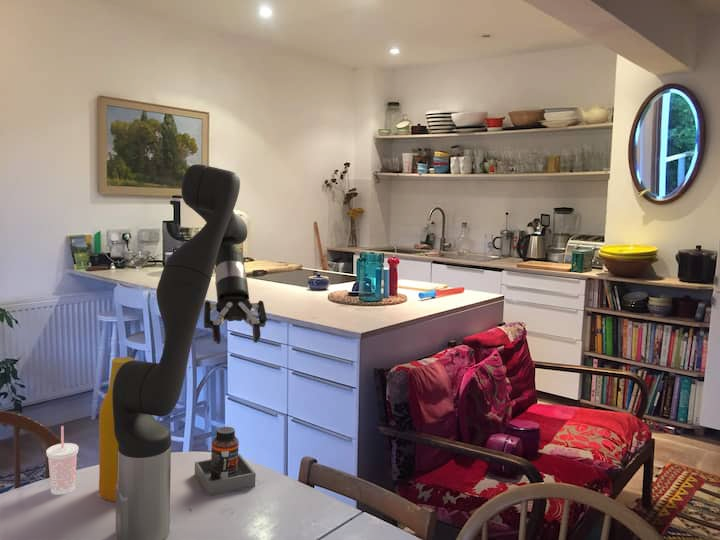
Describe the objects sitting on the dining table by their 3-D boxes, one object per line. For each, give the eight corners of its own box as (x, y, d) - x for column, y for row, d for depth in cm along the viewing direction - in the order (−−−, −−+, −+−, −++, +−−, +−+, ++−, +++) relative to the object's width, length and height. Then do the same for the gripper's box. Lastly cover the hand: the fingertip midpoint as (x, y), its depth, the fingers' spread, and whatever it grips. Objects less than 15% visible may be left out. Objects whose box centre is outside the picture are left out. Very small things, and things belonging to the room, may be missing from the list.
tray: (208, 496, 127) (208, 482, 127) (194, 474, 136) (194, 462, 136) (255, 486, 133) (255, 473, 132) (239, 465, 142) (239, 453, 141)
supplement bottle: (230, 485, 131) (232, 436, 130) (205, 481, 132) (207, 433, 131) (241, 473, 137) (243, 426, 136) (217, 469, 138) (219, 423, 137)
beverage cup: (40, 491, 126) (39, 427, 124) (66, 479, 131) (65, 418, 129) (59, 499, 123) (58, 434, 121) (85, 487, 128) (84, 424, 126)
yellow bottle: (94, 487, 128) (93, 356, 124) (138, 477, 134) (138, 351, 130) (105, 507, 121) (105, 368, 117) (151, 495, 127) (153, 362, 123)
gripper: (203, 274, 140) (207, 334, 131) (263, 274, 145) (271, 332, 136) (200, 292, 146) (204, 351, 137) (258, 292, 151) (265, 348, 142)
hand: (237, 341), depth 136 cm, fingers open, 8 cm apart
